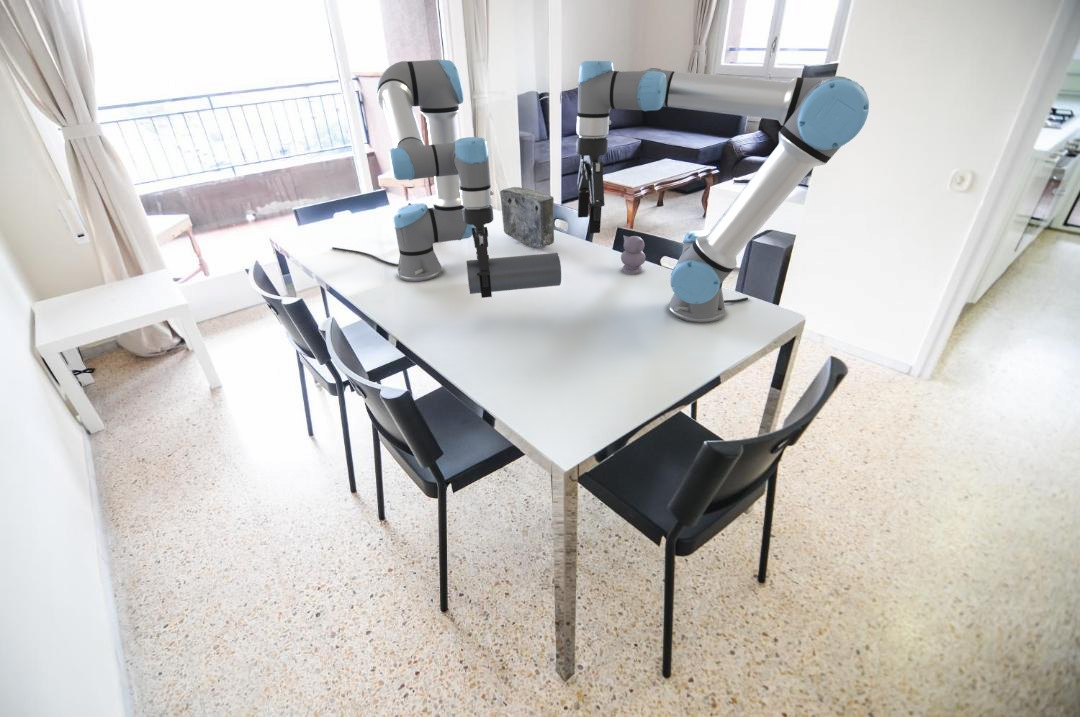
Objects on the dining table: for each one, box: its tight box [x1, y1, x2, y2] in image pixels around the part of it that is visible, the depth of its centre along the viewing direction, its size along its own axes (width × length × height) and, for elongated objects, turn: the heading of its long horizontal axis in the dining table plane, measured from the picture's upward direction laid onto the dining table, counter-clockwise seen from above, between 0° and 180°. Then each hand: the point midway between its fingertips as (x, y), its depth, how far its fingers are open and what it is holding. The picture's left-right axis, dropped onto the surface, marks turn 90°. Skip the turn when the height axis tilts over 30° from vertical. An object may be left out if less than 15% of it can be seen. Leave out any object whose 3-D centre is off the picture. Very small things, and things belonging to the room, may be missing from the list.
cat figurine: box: [620, 234, 646, 275], centre depth 168 cm, size 9×8×12 cm
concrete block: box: [499, 186, 555, 249], centre depth 194 cm, size 27×9×20 cm, turn 36°
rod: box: [465, 252, 562, 295], centre depth 134 cm, size 24×9×9 cm, turn 99°
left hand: (485, 289), depth 135 cm, fingers closed on rod, 9 cm apart
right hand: (588, 224), depth 129 cm, fingers open, 13 cm apart
